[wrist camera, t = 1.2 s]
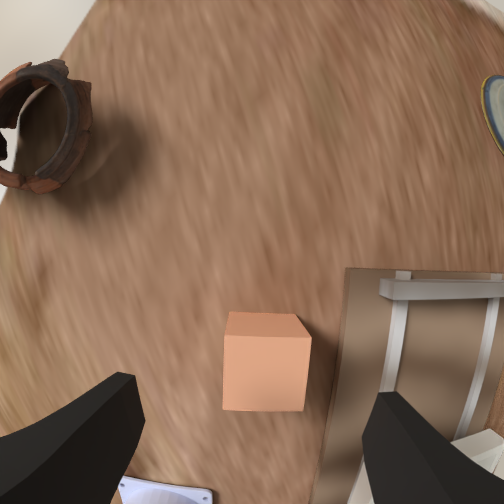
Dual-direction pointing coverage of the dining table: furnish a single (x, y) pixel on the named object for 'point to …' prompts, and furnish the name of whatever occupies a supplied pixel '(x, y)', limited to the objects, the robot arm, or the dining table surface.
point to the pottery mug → (78, 121)
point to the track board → (410, 360)
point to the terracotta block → (265, 362)
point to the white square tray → (473, 446)
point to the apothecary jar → (494, 107)
